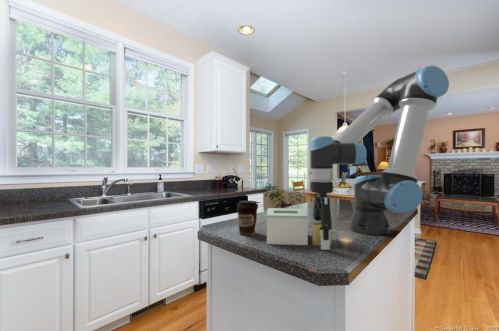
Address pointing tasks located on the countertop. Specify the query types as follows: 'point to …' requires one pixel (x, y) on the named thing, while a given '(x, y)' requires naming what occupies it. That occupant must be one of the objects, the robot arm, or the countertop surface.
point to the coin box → (287, 226)
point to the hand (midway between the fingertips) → (321, 243)
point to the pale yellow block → (317, 234)
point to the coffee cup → (247, 217)
